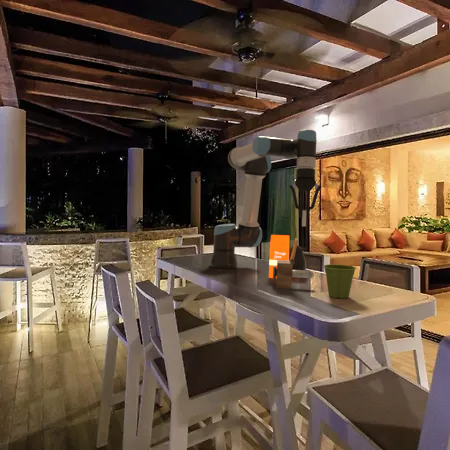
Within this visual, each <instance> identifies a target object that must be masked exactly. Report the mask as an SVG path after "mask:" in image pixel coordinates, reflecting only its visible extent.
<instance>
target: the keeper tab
mask: <svg viewBox="0 0 450 450" xmlns="http://www.w3.org/2000/svg"><path fill="white" fill-rule="evenodd" d="M298 241H299V239H298V238H296V237H295V238H294V242H293V245H292V246H293V250H292V255H291V258H290V259H294V256H295V252H296V247H297V245H298Z"/></svg>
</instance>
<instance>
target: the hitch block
mask: <svg viewBox="0 0 450 450" xmlns="http://www.w3.org/2000/svg"><path fill="white" fill-rule="evenodd" d="M290 258H291V256H290ZM294 261H295V259H290V260H277V278H276V279H275V280H276V282H275V288H276V289H285V290H286V289H288V290H292V279H293V277H292V264H294Z"/></svg>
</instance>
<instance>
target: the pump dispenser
mask: <svg viewBox="0 0 450 450" xmlns="http://www.w3.org/2000/svg"><path fill="white" fill-rule="evenodd" d="M293 246H294V245H292V246H291V247H289V260H290V256H291V255H292V250H293ZM304 251H307V247H301V246H300V245H298V244H297V247H296V252H295V256H294V259H295V261H294V264H292V270H305V271H307V263H306V258H305V254H304Z"/></svg>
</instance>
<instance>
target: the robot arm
mask: <svg viewBox="0 0 450 450" xmlns="http://www.w3.org/2000/svg"><path fill="white" fill-rule="evenodd" d="M317 142H318V140H317V132H316V131H315V130H313V129H301V130H299V131H298V132H297V138H295V139H289V138H287V139H286V138H279V137H273V136H272V137H270V136H266V135H263V136H262V135H261V136H256V137H255V138H254V140H253V142H252V143H250V144H247V145H244V146H237V147H234V148H232V149H231V150H230V151H229V153H228V156H227V161H228V163H229V165H230V166H231V167H232V168H233V169H235V170H237V171H243V172H244V176H245V177H246V178H245V179H246V180H245V189H244V197H243V207H242V216H241V220H240V221H239V222H238V225H236V224H235V223H223V224H218V225H215V227H214V230H213V232H214V233H213V251H212V252H213V253H212V256H211V258H210V261H209V267H212V268H216V269H235V268H238V261H237V260H238V259H237V257H236V253H235V251H236V250H235V249H236V248H250V249H251V248H257V247H258V246H259V245H260V244H261V242H262V238H263V230H262V228H261V227H260V224H259V222H258V219H259V218H258V216H259V208H260V200H261V194H262V193H261V192H262V186H263V185H262V183H263V179H264V178H265V177H266V176H267V175H266V174H267V173H270V171H271V169H272V157H283V158H284V159H286V160H293V159H296V168H297V169H296V176H295V179H296V180H295V181H294V183H293V184H292V185H289V190H290V191H291V193H292V197H293V203H294V207H295V209H297V210H299V214H298V215H299V219H301V226H302V227H307V219H309V218H310V210H311V211H312V210H313V209H314V208H315V206H316V201H317V199H318V195H319V192H320V190H321V189H322V186H321V185H319V184H318V183H317V182H316V162H317V160H316V158H317V157H316V155H317ZM296 187H297V188H296ZM313 188H314V190H315V191H314V194H313V197H312V200H311V201H310V199H311V195H310V194H311V191H312V190H313ZM296 189H298V190H299V193H300V194H299V204H298V199H297V198H298V197H297V193H296ZM305 192H306V201H305V203H306V204H305V209H304V193H305ZM310 202H311V205H310Z"/></svg>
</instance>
